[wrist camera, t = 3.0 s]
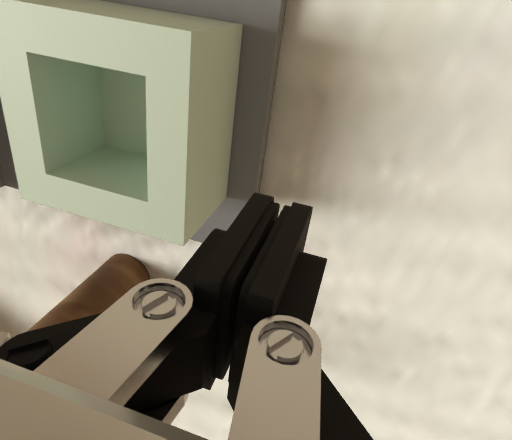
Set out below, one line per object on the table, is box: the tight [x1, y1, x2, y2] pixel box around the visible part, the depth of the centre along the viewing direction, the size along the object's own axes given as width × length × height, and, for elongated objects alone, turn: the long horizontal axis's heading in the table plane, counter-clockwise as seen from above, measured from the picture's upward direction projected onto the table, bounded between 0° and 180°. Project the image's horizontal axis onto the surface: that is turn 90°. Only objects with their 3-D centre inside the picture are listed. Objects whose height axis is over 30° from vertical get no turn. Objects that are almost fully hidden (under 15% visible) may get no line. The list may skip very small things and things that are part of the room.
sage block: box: [0, 0, 243, 246], centre depth 21 cm, size 10×10×6 cm
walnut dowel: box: [27, 254, 150, 332], centre depth 28 cm, size 4×4×12 cm
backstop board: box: [0, 0, 286, 243], centre depth 21 cm, size 22×18×11 cm
